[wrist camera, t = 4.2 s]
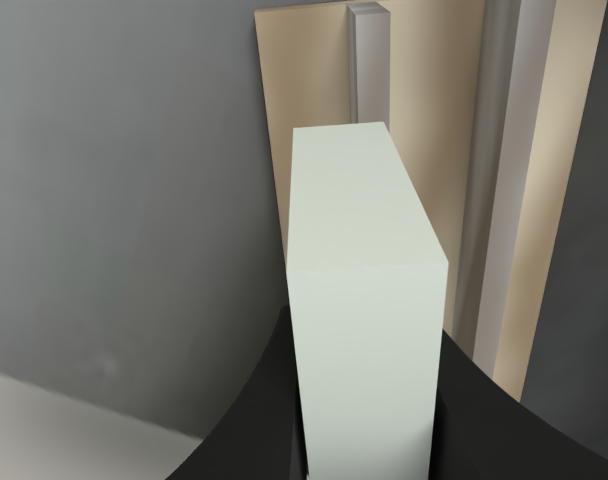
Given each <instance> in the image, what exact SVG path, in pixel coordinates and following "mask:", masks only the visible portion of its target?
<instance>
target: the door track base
mask: <svg viewBox="0 0 608 480" xmlns="http://www.w3.org/2000/svg"><path fill="white" fill-rule="evenodd" d="M606 4H607V0H353V1H342V2H331V3H320V4H309V5H298V6H288V7H277V8H266V9H256V11H255V12H254V15H255V23H256V31H257V39H258V47H259V55H260V63H261V72H262V80H263V88H264V96H265V104H266V112H267V120H268V128H269V137H270V145H271V153H272V161H273V169H274V177H275V185H276V193H277V202H278V210H279V218H280V226H281V234H282V242H283V250H284V258H285V267H286V271H287V250H288V230H289V209H290V189H291V168H292V148H293V128H302V127H316V126H329V125H343V124H357V123H370V122H384V124H385V126H386V128H387V130H388V132H389V134H390V137H391V139H392V141H393V143H394V145H395V147H396V150H397V152H398V154H399V156H400V158H401V160H402V163H403V165H404V167H405V169H406V171H407V173H408V176H409V178H410V180H411V182H412V184H413V186H414V189H415V191H416V193H417V195H418V197H419V199H420V202H421V204H422V206H423V208H424V210H425V212H426V215H427V217H428V219H429V221H430V223H431V226H432V228H433V230H434V232H435V234H436V236H437V239H438V241H439V243H440V245H441V247H442V249H443V252H444V254H445V256H446V258H447V260H448V262H449V264H448V275H447V285H446V295H445V306H444V316H443V327H442V328H443V329H444V330H445V332H446V333H447V334H448V335H449V336H450V337H451V338H452V340H453V341H454V342H455V343H456V344H457V345H458V346H459V347H460V348H461V350H462V351H463V352H464V353H465V354H466V355H467V356H468V357H469V358H470V359H471V360H472V361H473V362H474V363H475V364H476V365H477V366H478V367H479V368H480V369H481V370H482V371H483V372H484V373H485V374H486V375H487V376H488V377H489V378H490V379H492V380H493V381H494V382H495V383H496V384H497V385H498V386H499V387H501V388H502V389H503V390H504V391H505V392H506V393H508V394H509V395H510V396H511V397H512V398H514V399H515V400H516V401H518V402H519V403H520V398H521V393H522V389H523V384H524V380H525V375H526V371H527V366H528V361H529V357H530V352H531V348H532V343H533V338H534V334H535V329H536V325H537V320H538V316H539V311H540V306H541V302H542V297H543V293H544V288H545V283H546V279H547V274H548V270H549V265H550V261H551V256H552V251H553V247H554V242H555V238H556V233H557V228H558V224H559V219H560V215H561V210H562V206H563V201H564V196H565V192H566V187H567V183H568V178H569V173H570V169H571V164H572V160H573V155H574V151H575V146H576V141H577V137H578V132H579V128H580V123H581V118H582V114H583V109H584V105H585V100H586V96H587V91H588V86H589V82H590V77H591V73H592V68H593V63H594V59H595V54H596V50H597V45H598V41H599V36H600V31H601V27H602V22H603V18H604V13H605V8H606ZM286 275H287V274H286ZM287 283H288V282H287Z"/></svg>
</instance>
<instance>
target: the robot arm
mask: <svg viewBox="0 0 608 480" xmlns="http://www.w3.org/2000/svg"><path fill="white" fill-rule="evenodd" d="M165 480H307V450H306V442H305V433H304V424H303V415H302V406H301V397H300V389H299V380H298V371H297V362H296V353H295V344H294V336H293V327H292V318H291V309H290V306H284V307H283V308H282V309H281V311H280V315H279V318H278V321H277V324H276V326H275V329H274V331H273V334H272V336H271V338H270V340H269V343H268V345H267V347H266V349H265V351H264V353H263V355H262V357H261V359H260V361H259V363H258V364H257V366H256V368H255V370H254V371H253V373H252V375H251V377H250V378H249V380H248V382H247V383H246V385H245V387H244V388H243V390H242V391H241V393H240V394H239V396H238V397H237V399H236V400H235V402H234V403H233V404H232V406H231V407H230V409H229V410H228V411H227V413H226V414H225V415H224V416H223V418H222V419H221V420H220V422H219V423H218V424H217V425H216V427H215V428H214V429H213V430H212V432H211V433H210V434H209V435H208V436H207V437H206V439H205V440H204V441H203V442H202V443H201V444H200V445H199V446H198V447H197V448H196V449H195V450H194V451H193V453H192V454H191V455H190V456H189V457H188V458H187V459H186V460H185V461H184V462H183V463H182V464H181V465H180V466H179V467H178V468H177V469H176V470H175V471H174V472H173V473H172V474H171V475H170V476H169V477H167V478H166V479H165ZM428 480H608V460H607V459H605V458H604V457H602V456H600V455H598V454H596V453H594V452H593V451H591V450H589V449H587V448H585V447H584V446H582V445H580V444H579V443H577V442H576V441H574V440H572V439H571V438H569V437H568V436H566V435H564V434H563V433H561V432H560V431H558V430H557V429H555V428H554V427H552V426H551V425H549V424H548V423H546V422H545V421H544V420H542V419H541V418H539V417H538V416H536V415H535V414H534V413H532V412H531V411H529V410H528V409H527V408H525V407H524V406H523V405H521V404H520V403H519V402H518V401H516V400H515V399H514V398H512V397H511V396H510V395H509V394H508V393H506V392H505V391H504V390H503V389H502V388H501V387H499V386H498V385H497V384H496V383H495V382H494V381H493V380H492V379H490V378H489V377H488V376H487V375H486V374H485V373H484V372H483V371H482V370H481V369H480V368H479V367H478V366H477V365H476V364H475V363H474V362H473V361H472V360H471V359H470V358H469V357H468V356H467V355H466V354H465V353H464V352H463V351H462V350H461V348H460V347H459V346H458V345H457V344H456V343H455V342H454V341H453V340H452V338H451V337H450V336H449V335H448V334H447V333H446V332H445V330H444V329H443V328H442V337H441V348H440V358H439V369H438V379H437V389H436V400H435V410H434V421H433V431H432V442H431V452H430V463H429V473H428Z"/></svg>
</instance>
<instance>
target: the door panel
mask: <svg viewBox="0 0 608 480" xmlns="http://www.w3.org/2000/svg"><path fill="white" fill-rule="evenodd" d="M448 264H449V262H448V260H447V258H446V256H445V254H444V252H443V249H442V247H441V245H440V243H439V241H438V239H437V236H436V234H435V232H434V230H433V228H432V226H431V223H430V221H429V219H428V217H427V215H426V212H425V210H424V208H423V206H422V204H421V202H420V199H419V197H418V195H417V193H416V191H415V189H414V186H413V184H412V182H411V180H410V178H409V176H408V173H407V171H406V169H405V167H404V165H403V163H402V160H401V158H400V156H399V154H398V152H397V150H396V147H395V145H394V143H393V141H392V139H391V137H390V134H389V132H388V130H387V128H386V126H385V124H384V122H370V123H357V124H343V125H329V126H316V127H302V128H293V148H292V168H291V189H290V209H289V230H288V250H287V271H286V274H287V282H288V291H289V300H290V309H291V318H292V327H293V336H294V344H295V353H296V362H297V371H298V380H299V389H300V397H301V406H302V415H303V424H304V433H305V442H306V450H307V459H308V468H309V477H310V480H428V473H429V463H430V452H431V442H432V431H433V421H434V410H435V400H436V389H437V379H438V369H439V358H440V348H441V337H442V327H443V316H444V306H445V295H446V285H447V275H448Z"/></svg>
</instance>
